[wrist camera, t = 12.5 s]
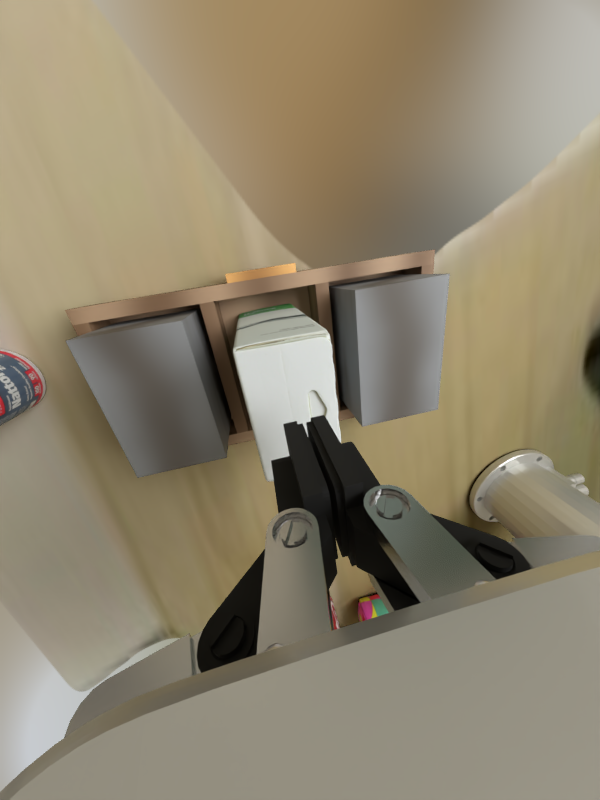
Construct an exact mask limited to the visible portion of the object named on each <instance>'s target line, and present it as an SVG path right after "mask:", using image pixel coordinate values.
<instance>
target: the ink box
mask: <svg viewBox="0 0 600 800" xmlns="http://www.w3.org/2000/svg"><path fill="white" fill-rule="evenodd" d="M332 354H333V351H332V344H331V339H330V334H329V333H328V331H327V330H326V329H325V328H323V327H322V326H321V325H319V324H318V323H316V322H315V321H314V320H312V319H311V318H309V317H308V316H306V315H305V314H304V313H302V312H301V311H300V310H298V309H297V308H295V307H294V306H293V305H292V304H290V303H288V304H283V305H277V306H272V307H266V308H261V309H257V310H252V311H249V312H245V313H241V314H239V316H238V323H237V330H236V336H235V342H234V347H233V355H234V360H235V364H236V368H237V372H238V376H239V380H240V384H241V388H242V391H243V395H244V399H245V403H246V407H247V410H248V414H249V418H250V422H251V426H252V429H253V433H254V437H255V441H256V445H257V448H258V452H259V456H260V460H261V464H262V467H263V471H264V475H265V478H266V480H267V481H274V478H273V471H272V464H271V460H275V459H279V458H283V457H287V456H289V451H288V446H287V441H286V436H285V431H284V426H283V424H285V423H289V422H294V421H297V424H301V423H303V426H304V428H305V431H306V433H307V436H308V432H307V425H306V422H310V421H311V418H312V417H316V416H321V415H325V417H326V419H327V420H328V422H329V424H330V426H331V427H332V429H333V431H334V433H335V434H336V436H337V438H338V440H339V441H340V443H341V433H340V427H339V419H338V401H337V396H336V388H335V369H334V364H333V357H332Z"/></svg>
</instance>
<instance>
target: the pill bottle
mask: <svg viewBox="0 0 600 800" xmlns="http://www.w3.org/2000/svg"><path fill="white" fill-rule="evenodd" d="M45 391H46V383H45V379H44V377H43V375H42V373H41V371H40V370H39V369H38V368H37V367H36V365H34V364H33V363H32V362H31V361H30V360H28V359H27V358H25V357H23V356H22V355H19V354H17V353H15V352H12V351H8V350H3V349H0V426H1V425H2V424H4V423H6V422H7V421H9V420H11V419H12V418H14V417H16V416H18V415H19V414H21V413H23V412H24V411H26V410H28V409H30V408H31V407H33V406H34V405H36V404H37V403H39V402H40V401H41V400H42V398H43V397H44V395H45Z"/></svg>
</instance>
